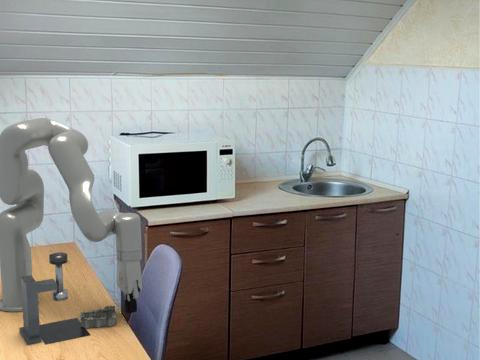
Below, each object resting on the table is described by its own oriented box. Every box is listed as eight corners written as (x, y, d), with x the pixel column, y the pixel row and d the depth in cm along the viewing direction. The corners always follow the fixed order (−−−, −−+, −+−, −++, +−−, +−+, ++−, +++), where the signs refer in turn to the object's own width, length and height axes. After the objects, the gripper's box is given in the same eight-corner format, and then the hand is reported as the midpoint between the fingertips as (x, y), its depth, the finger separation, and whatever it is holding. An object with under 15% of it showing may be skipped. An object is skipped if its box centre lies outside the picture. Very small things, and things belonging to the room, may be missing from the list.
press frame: (18, 329, 198) (14, 273, 195) (77, 318, 206) (74, 264, 203) (28, 348, 186) (25, 289, 183) (90, 336, 195) (88, 279, 191)
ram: (49, 296, 196) (47, 253, 194) (66, 293, 199) (64, 251, 196) (53, 302, 192) (51, 258, 189) (71, 299, 194) (69, 256, 192)
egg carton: (116, 317, 207) (116, 304, 206) (116, 327, 200) (116, 314, 199) (81, 319, 206) (80, 306, 205) (79, 329, 198) (78, 316, 197)
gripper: (108, 249, 208) (111, 305, 212) (125, 263, 195) (127, 322, 199) (132, 246, 211) (134, 301, 215) (150, 259, 199) (151, 317, 202)
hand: (131, 311), depth 207 cm, fingers closed
